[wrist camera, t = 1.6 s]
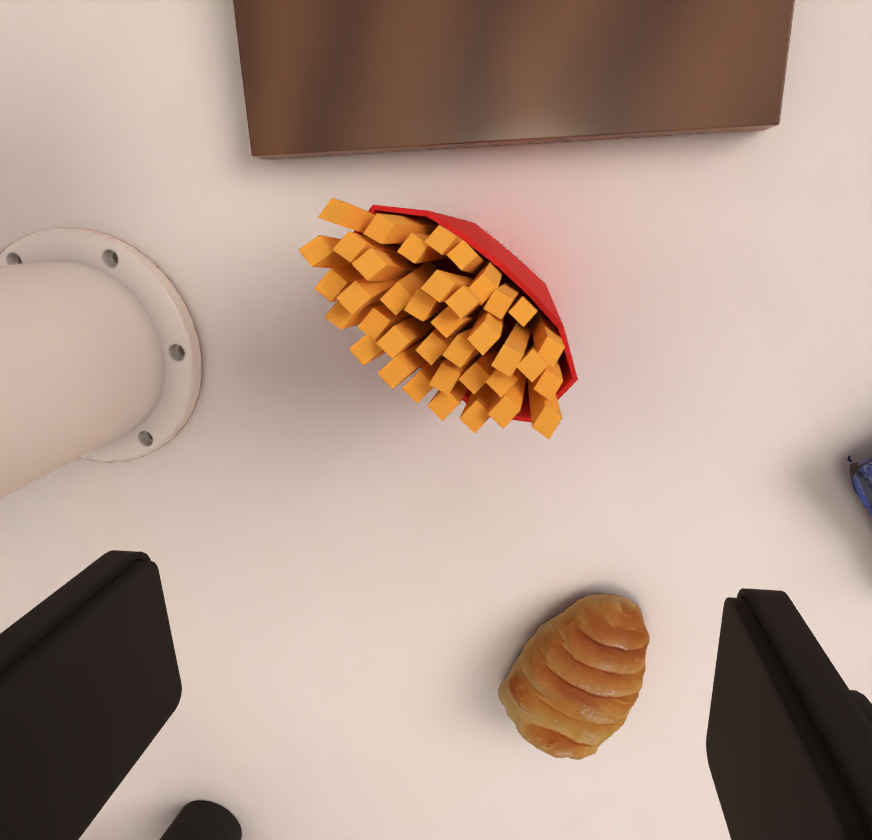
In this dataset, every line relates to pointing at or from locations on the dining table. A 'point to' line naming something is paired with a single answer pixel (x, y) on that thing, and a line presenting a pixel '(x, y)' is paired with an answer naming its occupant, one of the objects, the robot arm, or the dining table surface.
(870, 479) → the snack package
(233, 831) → the drinking cup
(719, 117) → the cutting board
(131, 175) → the dining table surface
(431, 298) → the french fries
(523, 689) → the pastry
